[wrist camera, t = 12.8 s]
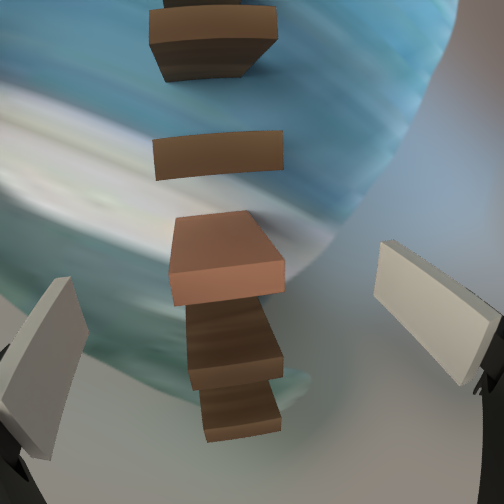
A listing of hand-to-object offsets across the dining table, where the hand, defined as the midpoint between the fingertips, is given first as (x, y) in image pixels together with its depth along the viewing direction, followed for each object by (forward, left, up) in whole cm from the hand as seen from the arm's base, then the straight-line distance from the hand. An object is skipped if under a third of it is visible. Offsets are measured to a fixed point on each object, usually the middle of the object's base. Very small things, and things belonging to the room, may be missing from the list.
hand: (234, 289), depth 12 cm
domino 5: (+4, +4, -10) cm, 12 cm away
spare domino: (0, 0, -10) cm, 10 cm away
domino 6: (+8, +8, -10) cm, 15 cm away
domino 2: (-7, -8, -10) cm, 15 cm away
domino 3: (-4, -4, -10) cm, 11 cm away
